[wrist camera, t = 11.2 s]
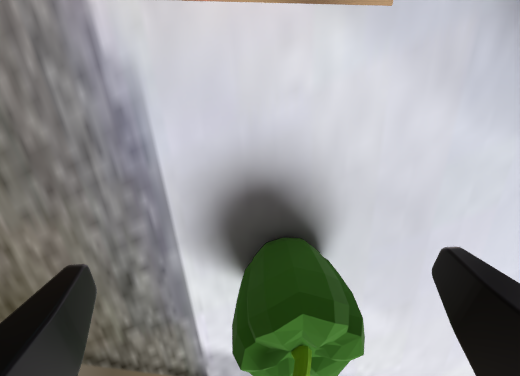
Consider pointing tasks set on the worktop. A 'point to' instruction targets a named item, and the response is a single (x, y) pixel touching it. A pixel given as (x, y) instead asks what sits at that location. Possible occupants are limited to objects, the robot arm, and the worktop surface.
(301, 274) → the bell pepper
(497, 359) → the robot arm
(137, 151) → the worktop surface
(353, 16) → the worktop surface
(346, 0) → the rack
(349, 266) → the worktop surface
